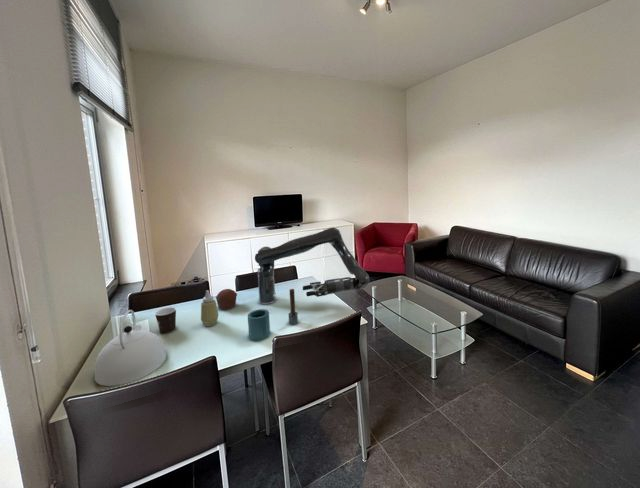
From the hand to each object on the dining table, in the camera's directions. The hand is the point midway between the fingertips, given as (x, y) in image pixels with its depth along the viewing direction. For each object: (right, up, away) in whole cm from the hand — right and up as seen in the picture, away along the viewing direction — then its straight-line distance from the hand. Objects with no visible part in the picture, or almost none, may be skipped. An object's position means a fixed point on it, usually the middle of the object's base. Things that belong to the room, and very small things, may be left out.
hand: (304, 291), depth 155 cm
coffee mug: (-66, -18, -8) cm, 69 cm away
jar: (-19, -18, -12) cm, 29 cm away
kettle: (-63, -21, -33) cm, 75 cm away
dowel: (-6, -16, -1) cm, 17 cm away
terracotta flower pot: (-49, -14, +19) cm, 54 cm away
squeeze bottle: (-49, -17, -1) cm, 52 cm away
